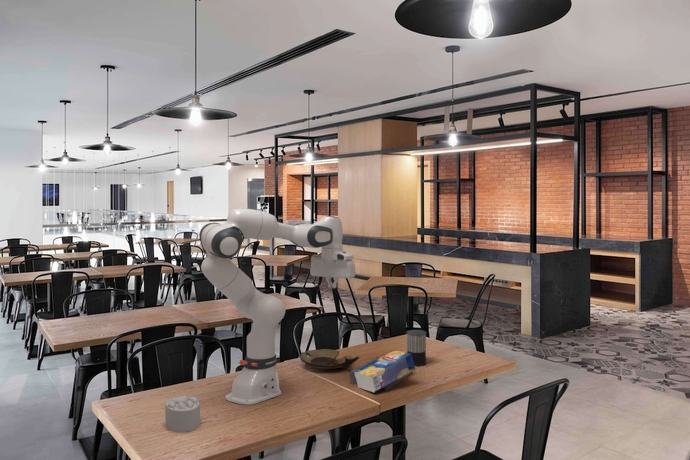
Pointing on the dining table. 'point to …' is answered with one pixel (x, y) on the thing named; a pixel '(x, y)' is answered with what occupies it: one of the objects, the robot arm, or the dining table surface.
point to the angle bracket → (352, 374)
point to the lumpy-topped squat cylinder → (182, 414)
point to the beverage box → (384, 371)
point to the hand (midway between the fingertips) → (332, 287)
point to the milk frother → (417, 346)
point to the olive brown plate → (326, 359)
